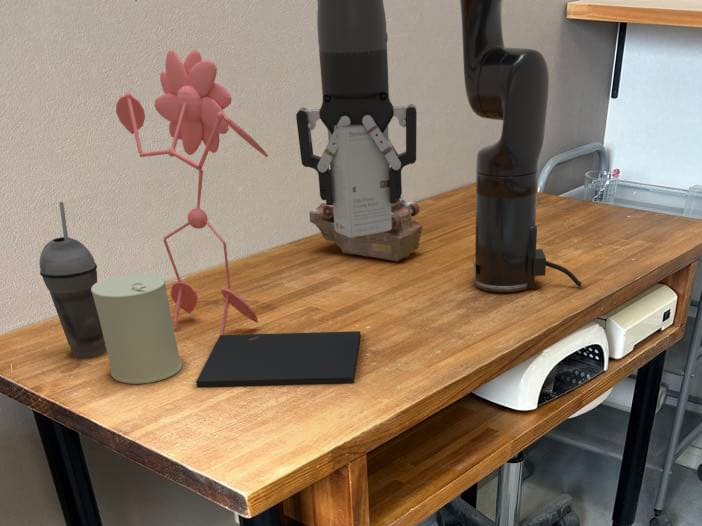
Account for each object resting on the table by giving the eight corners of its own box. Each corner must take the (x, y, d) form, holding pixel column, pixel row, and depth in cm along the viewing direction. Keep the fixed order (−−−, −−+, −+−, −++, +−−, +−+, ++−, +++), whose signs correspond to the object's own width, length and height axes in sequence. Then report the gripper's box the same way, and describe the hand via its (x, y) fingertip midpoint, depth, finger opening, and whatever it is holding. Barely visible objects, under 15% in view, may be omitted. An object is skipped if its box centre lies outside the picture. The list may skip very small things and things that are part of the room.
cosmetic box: (351, 239, 102) (344, 128, 95) (332, 232, 105) (324, 123, 98) (394, 230, 105) (390, 121, 98) (375, 223, 108) (369, 117, 101)
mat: (360, 336, 121) (360, 330, 121) (353, 383, 108) (353, 377, 108) (220, 340, 122) (219, 334, 122) (196, 387, 109) (195, 381, 108)
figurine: (264, 345, 117) (227, 51, 99) (130, 321, 129) (75, 54, 110) (329, 314, 128) (306, 44, 110) (200, 294, 140) (160, 48, 121)
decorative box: (382, 273, 145) (379, 213, 140) (296, 255, 155) (290, 199, 150) (427, 253, 154) (426, 197, 148) (343, 238, 164) (339, 184, 158)
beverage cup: (69, 343, 123) (30, 197, 112) (120, 340, 123) (87, 194, 112) (56, 363, 117) (14, 211, 106) (110, 360, 117) (74, 208, 106)
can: (138, 390, 109) (116, 297, 102) (97, 372, 114) (74, 283, 107) (196, 366, 114) (179, 277, 107) (155, 351, 119) (136, 264, 113)
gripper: (283, 51, 91) (299, 212, 100) (418, 46, 91) (421, 208, 100) (291, 45, 97) (305, 197, 107) (417, 40, 97) (420, 194, 106)
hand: (361, 202), depth 103 cm, fingers closed on cosmetic box, 7 cm apart
